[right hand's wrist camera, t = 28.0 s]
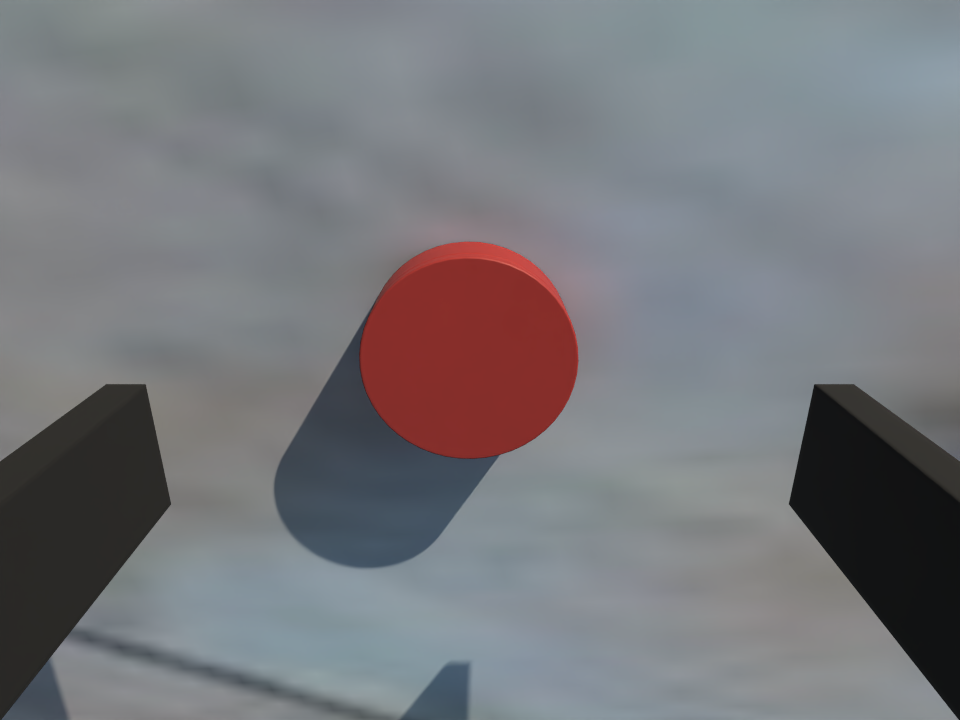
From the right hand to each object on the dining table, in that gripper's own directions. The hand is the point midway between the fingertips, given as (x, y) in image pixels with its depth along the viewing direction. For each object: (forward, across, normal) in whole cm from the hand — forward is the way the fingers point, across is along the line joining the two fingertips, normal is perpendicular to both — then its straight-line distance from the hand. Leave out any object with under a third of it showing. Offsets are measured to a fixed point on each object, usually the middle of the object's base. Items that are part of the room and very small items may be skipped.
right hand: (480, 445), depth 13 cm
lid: (+3, 0, -1) cm, 3 cm away
